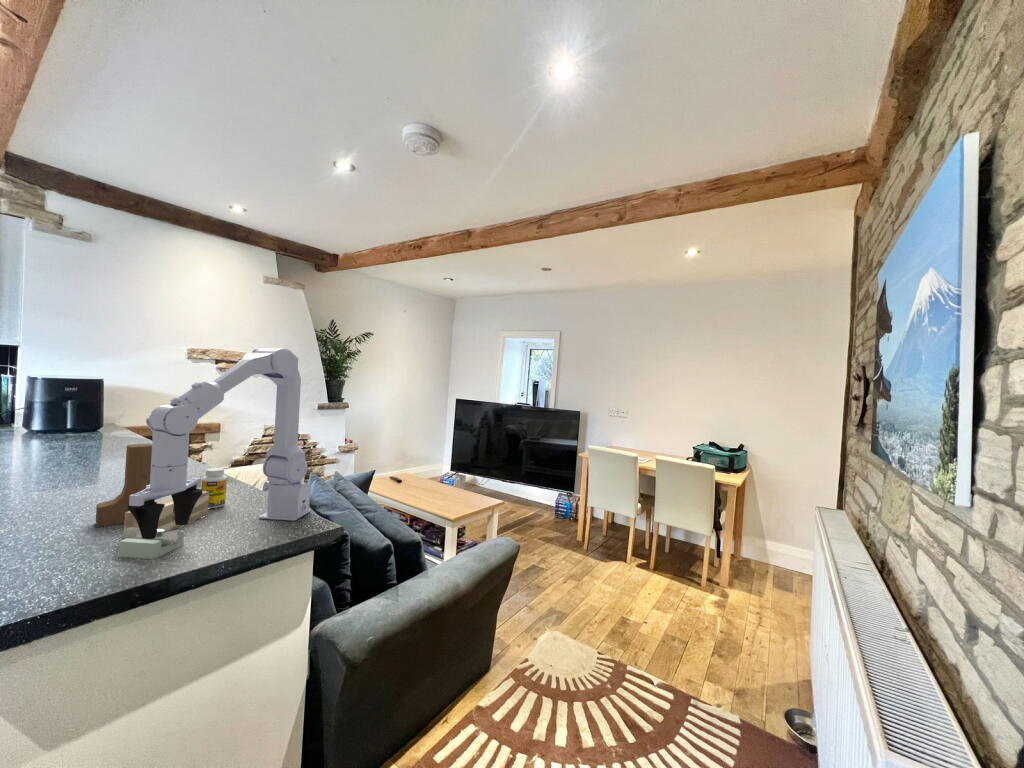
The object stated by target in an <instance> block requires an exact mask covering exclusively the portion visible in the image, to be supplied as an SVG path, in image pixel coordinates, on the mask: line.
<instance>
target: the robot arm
mask: <svg viewBox="0 0 1024 768" xmlns="http://www.w3.org/2000/svg"><path fill="white" fill-rule="evenodd" d="M254 375H263V376H265V377H267V378H268V379H270V380H271V381H272V382H273V383H274V384H275V385H276V396H275V397H276V399H275V414H274V415H275V419H274V436H273V438H274V439H273V445H272V446H271V447H270V448H269V449H268V450H267V451H266V457H265V460H264V462H263V465H262V472H263V474H264V475H265V476H266V477H267V481H268V485H267V487H268V489H267V504H266V506H267V507H266V512H265V513H262V514H261V515H258V519H261V520H262V519H264V520H266V519H267V520H277V521H291V522H292V521H296V520H298V519H300V518H301V517H303V516H305V515H306V514H309V513H310V512H311V509H310V499H311V497H310V496H311V487H310V484H309V483H308V482H307V483H306V482H303V479H304V477H305V476H306V475H307V472H308V463H307V461H306V452H305V451H304V450H303V449H302V448H301V447H300V445H299V442H298V441H299V425H300V423H299V422H300V408H301V406H300V404H301V388H302V387H301V386H302V377H301V375H300V372H299V357H297V355H296V354H295V353H294V352H292V350H290V349H288V348H264V347H257V348H254V349H253V350H251V351H250V352H248V353H245V354H244V356H243V357H242V359H240V360H239V361H238V362H237V363H235V364H234V365H232V366H231V367H230V368H228V369H227V370H226V371H224V372H223V373H221V374H220V375H219V376H218V377H216V378H215V379H214V380H212V381H201V382H194V383H192V384H191V385H190V387H191V389H189V390H188V391H186V392H184V393H183V394H182V395H180V396H178V397H173V398H172V399H170V403H169V404H164V405H159V406H157V407H155V408H154V409H153V410H152V411H151V413H150V415H148V416H149V417H147V418H145V423H146V426H147V427H148V429H150V430H151V432H152V437H151V438H152V443H151V444H152V457H151V475H150V485H147V486H146V489H144V490H142V491H140V492H138V493H136V494H133V495H130V498H129V504H128V510H129V511H130V512H131V513H132V514H133V516H134V517H135V519H136V521H137V523H138V526H139V529H140V532H141V536H142V539H154V538H155V537H156V534H157V529H158V521H159V517H160V514H161V512H162V510H163V508H164V506H165V504H157V502H158V501H156V500H159V499H163V498H166V497H168V496H171V498H172V499H173V503H174V514H175V524H176V525H184V526H187V525H189V524H188V521H189V518H190V515H191V513H192V510H193V508H194V506H195V504H196V502H197V500H198V499H199V497H200V496H201V495H202V491H203V490H202V489H201V488H200V487H201V485H202V477H189V478H188V466H189V464H188V463H189V461H188V460H189V448H190V447H189V446H190V432H192V431H194V430H195V428H196V427H197V425H198V421H199V420H200V419H201V418H203V416H205V415H207V413H209V412H211V411H212V410H213V409H214V408H216V407H217V406H219V405H220V404H221V403H223V402H224V399H225V394H226V393H228V392H229V391H230V390H232V389H233V388H235V387H236V386H239V384H241V383H243V382H245V381H246V380H248V379H249V378H251V377H253V376H254Z"/></svg>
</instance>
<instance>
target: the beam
mask: <svg viewBox="0 0 1024 768" xmlns="http://www.w3.org/2000/svg"><path fill="white" fill-rule="evenodd" d="M208 500H209V491H202V495H201V496H200V497H199V499H198V500H197V502H196V504H195V506H194V508H193V510H192V513H191V515H190V518H189V521H188V523H189V522H191V523H193V522H192V521H194V520H196V519H199V518H201V517H203V516H206V515H209V514H208V513H209V509H208ZM156 502H157V504H165V506H164V508H163V510H162V512H161V514H160V517H159V521H158V529H165V530H174V529H175V530H178V529H179V528H182V527H184V526H183V525H176V524H175V514H174V503H173V499H172V497H169V498H167V499H163V500H160V501H156ZM206 517H207V516H206ZM203 518H204V517H203ZM201 519H202V518H201ZM199 520H200V519H199ZM196 521H197V520H196ZM194 522H195V521H194ZM189 524H190V523H189ZM181 526H182V527H181ZM129 527H135V528H139V526H138V523H137V521H136V519H135V517H134V516H133V514H132V513H131V512H130V511H128V512H125V521H124V523H123V532H124V531H125V530H126V529H127V528H129Z"/></svg>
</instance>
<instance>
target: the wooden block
mask: <svg viewBox="0 0 1024 768" xmlns="http://www.w3.org/2000/svg"><path fill="white" fill-rule="evenodd" d="M125 451H126V452H125V467H124V468H125V469H124V470H125V471H124V482H123V483H124V484H123V487H122V490H121V493H119V494H118V495H117V496H116V497H114V498H113V499H111V500H106V501H103V502H100V503H97V504H96V507H95V509H96V510H95V524H96V526H97V528H104V527H110V526H116V525H122V524H124V521H125V512H128V511H129V510H128V504H129V498H130V495H133V494H136V493H138V492H140V491H142V490H144V489H146V486H147V485H150V475H151V457H152V443H136V444H135V443H132V444H128V445H126V450H125Z"/></svg>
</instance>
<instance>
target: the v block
mask: <svg viewBox="0 0 1024 768" xmlns="http://www.w3.org/2000/svg"><path fill="white" fill-rule="evenodd" d="M164 530H165V529H164ZM179 531H181V532H182V539H181V541H180V542H179V543H178V544H177V545H163V544H162V541H161V540H146V539H132V538H126V539H124V540H122V539H121V540H119V541H118V553H117V555H118V556H117V557H120V558H129V559H130V558H132V559H146V560H147V559H148V560H155V559H157V558H158V557H159V558H160V557H161V556H163V555H166V554H167V553H169V552H171V551H174V550H175V549H178V548H180V547H182V546H184V542H185V530H179Z"/></svg>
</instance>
